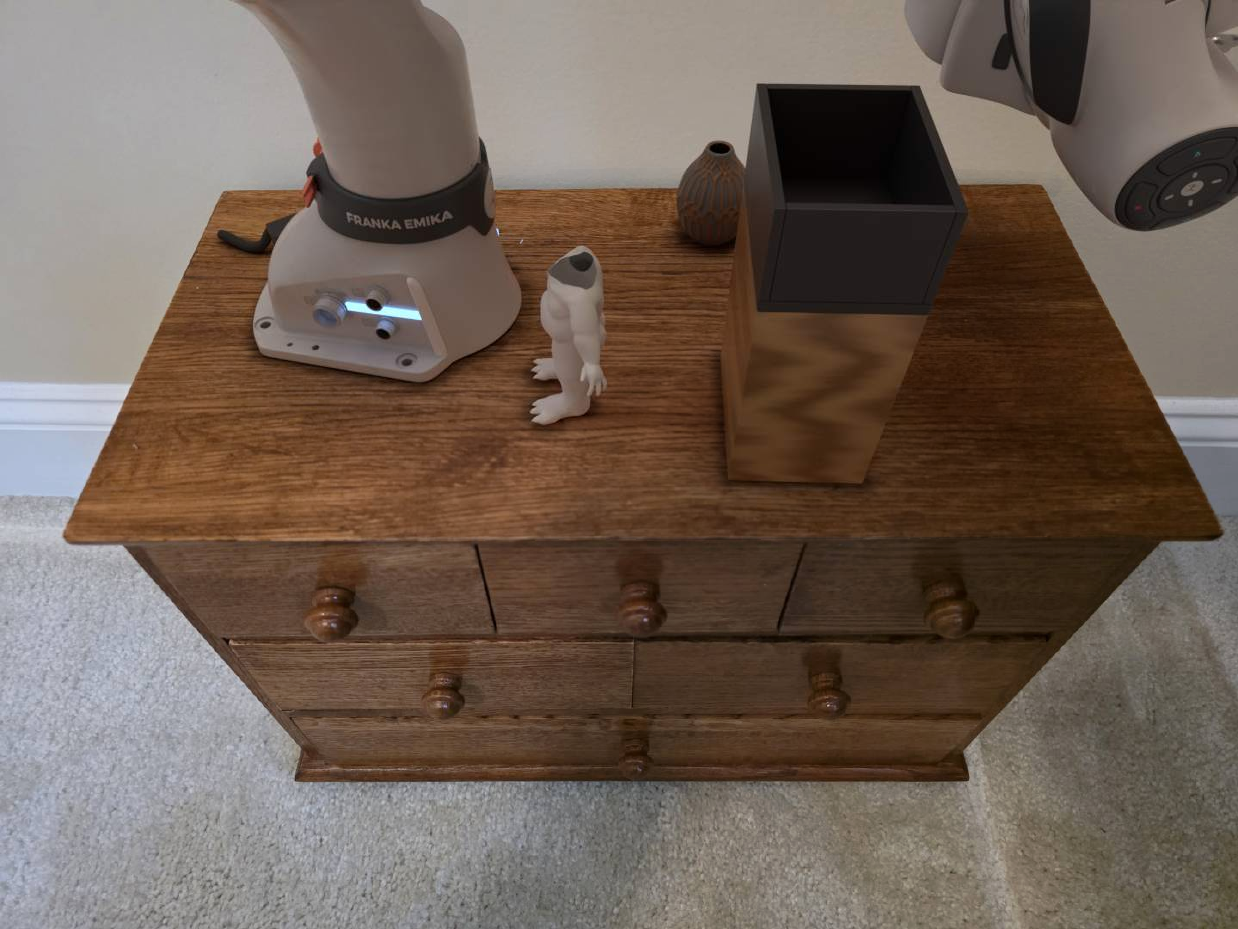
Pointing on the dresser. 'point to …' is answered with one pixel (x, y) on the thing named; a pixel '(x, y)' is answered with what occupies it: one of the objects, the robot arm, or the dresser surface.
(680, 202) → the vase
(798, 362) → the stand
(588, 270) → the toy creature
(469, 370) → the dresser surface
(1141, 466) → the dresser surface
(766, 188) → the basket
